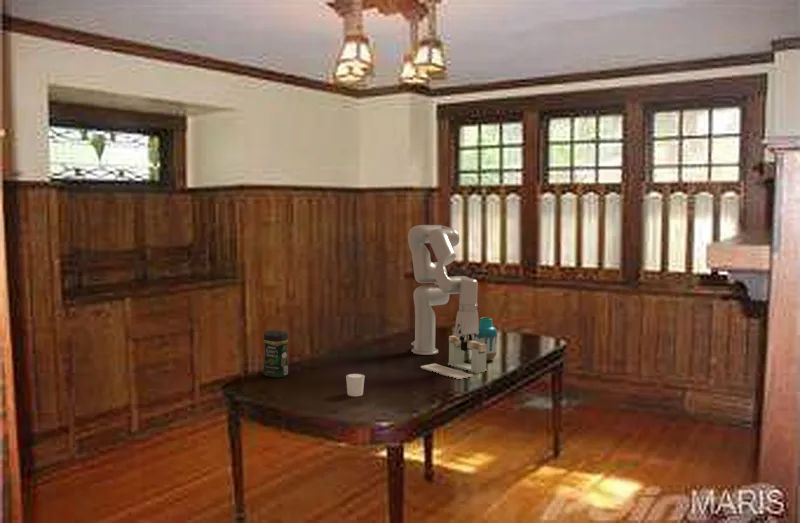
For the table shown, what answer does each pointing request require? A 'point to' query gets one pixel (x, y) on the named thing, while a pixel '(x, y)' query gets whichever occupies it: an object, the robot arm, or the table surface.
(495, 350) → the vase
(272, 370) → the coffee jar
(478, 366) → the cradle stand
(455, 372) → the felt mat
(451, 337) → the rail
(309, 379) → the table surface
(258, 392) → the table surface
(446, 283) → the robot arm
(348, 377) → the shot glass
